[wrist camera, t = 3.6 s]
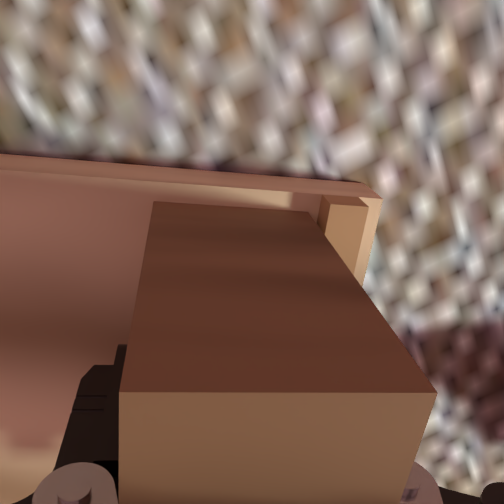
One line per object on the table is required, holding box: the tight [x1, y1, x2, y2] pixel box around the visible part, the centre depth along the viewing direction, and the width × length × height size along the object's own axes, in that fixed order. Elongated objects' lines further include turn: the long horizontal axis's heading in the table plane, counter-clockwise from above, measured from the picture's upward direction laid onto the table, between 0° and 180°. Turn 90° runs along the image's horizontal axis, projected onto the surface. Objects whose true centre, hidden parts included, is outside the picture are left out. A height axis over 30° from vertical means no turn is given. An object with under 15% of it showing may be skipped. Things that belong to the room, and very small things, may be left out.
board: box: [0, 154, 383, 504], centre depth 16 cm, size 21×14×2 cm, turn 173°
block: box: [119, 201, 437, 504], centre depth 11 cm, size 9×4×7 cm, turn 173°
